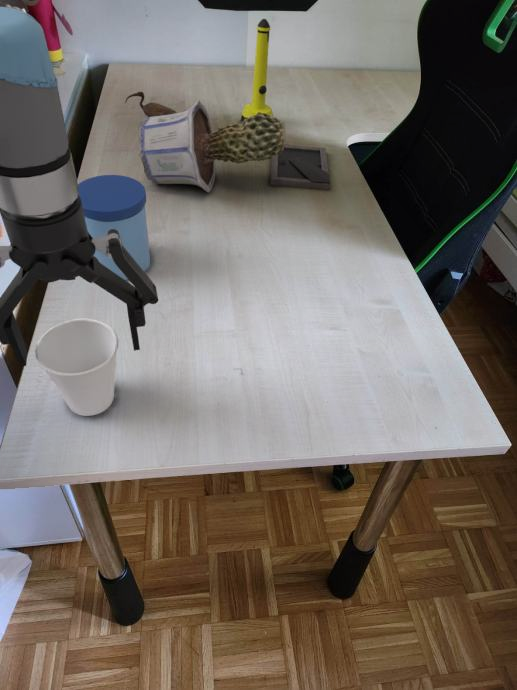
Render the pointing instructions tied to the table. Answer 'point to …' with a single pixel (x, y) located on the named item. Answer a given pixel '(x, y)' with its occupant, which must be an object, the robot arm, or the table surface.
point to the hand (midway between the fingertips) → (81, 350)
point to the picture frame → (300, 168)
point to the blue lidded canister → (117, 216)
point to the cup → (81, 363)
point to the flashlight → (259, 74)
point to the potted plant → (203, 145)
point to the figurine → (152, 107)
